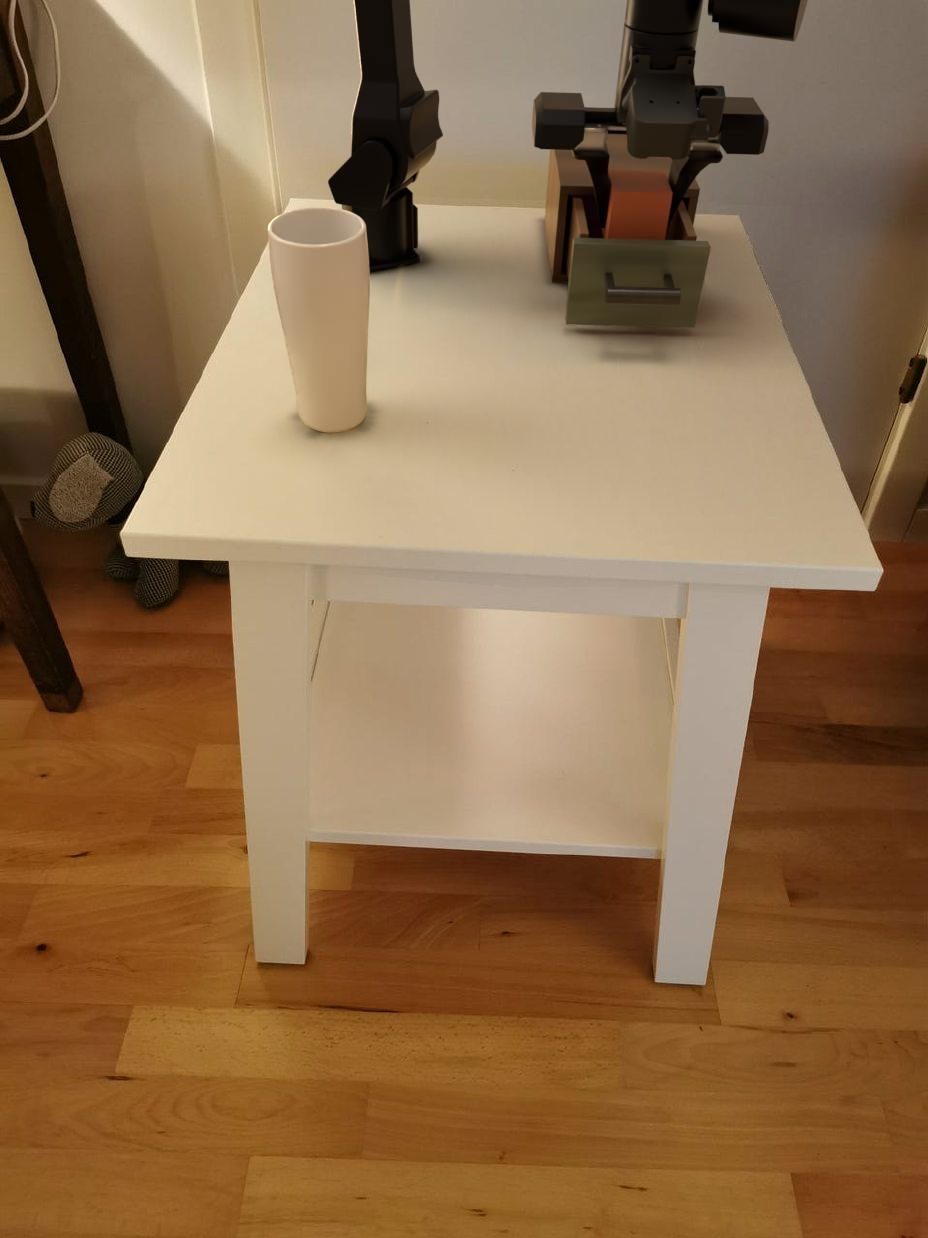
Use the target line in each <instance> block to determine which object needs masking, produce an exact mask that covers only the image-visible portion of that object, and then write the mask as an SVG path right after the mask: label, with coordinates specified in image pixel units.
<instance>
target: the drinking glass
mask: <svg viewBox="0 0 928 1238" xmlns="http://www.w3.org/2000/svg"><path fill="white" fill-rule="evenodd" d="M267 236H268V251H269V252H268V253H269V261H270V270H271V278H272V284H273V290H274V295H275V300H276V305H277V311H278V315H279V319H280V324H281V329H282V333H283V339H284V342H285V347H286V352H287V353H286V354H287V358H288V361H289V362H288V363H289V367H290V372H291V377H292V382H293V386H294V391H295V399H296V407H297V414H298V416H299V418H300V421H301V422H302V423H304V425H305V426H307V427H308V428H310V429H312V430H314V431H318V432H321V433H340V432H346V431H349V430H351V429H353V428H355V427H357V426H358V425H360V424H361V423H362V422H363V421H364V419H365V418H366V416H367V412H368V398H367V397H368V396H367V378H368V377H367V376H368V375H367V374H368V347H369V345H368V344H369V343H368V342H369V322H370V321H369V318H370V296H371V295H370V292H371V271H370V268H369V252H368V241H367V231H366V224H365V222H364V220H363V219H362V218H361V217H359V216H358V215H356V214H354V213H352V212H349V211H346V210H342V208H337V207H330V206H329V207H328V206H311V207H302V208H296V209H293V210H289V211H286V212H283V213H281V214H279V215H277V216H276V217H274V218H273V219H272V220H271V221H270V222H269V224H268V226H267Z"/></svg>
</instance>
